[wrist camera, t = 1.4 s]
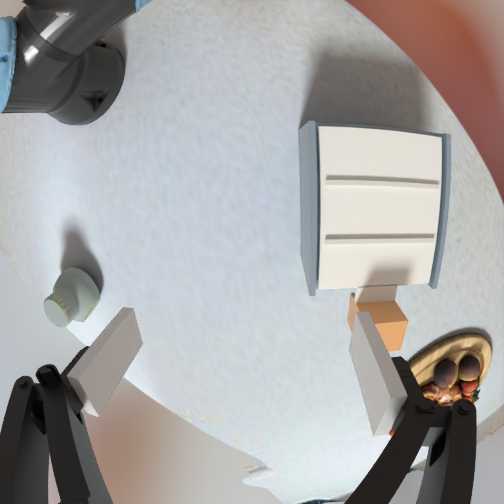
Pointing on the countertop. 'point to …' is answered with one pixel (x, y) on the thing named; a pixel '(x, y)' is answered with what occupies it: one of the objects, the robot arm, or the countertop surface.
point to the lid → (377, 218)
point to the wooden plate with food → (453, 369)
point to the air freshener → (71, 297)
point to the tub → (311, 197)
